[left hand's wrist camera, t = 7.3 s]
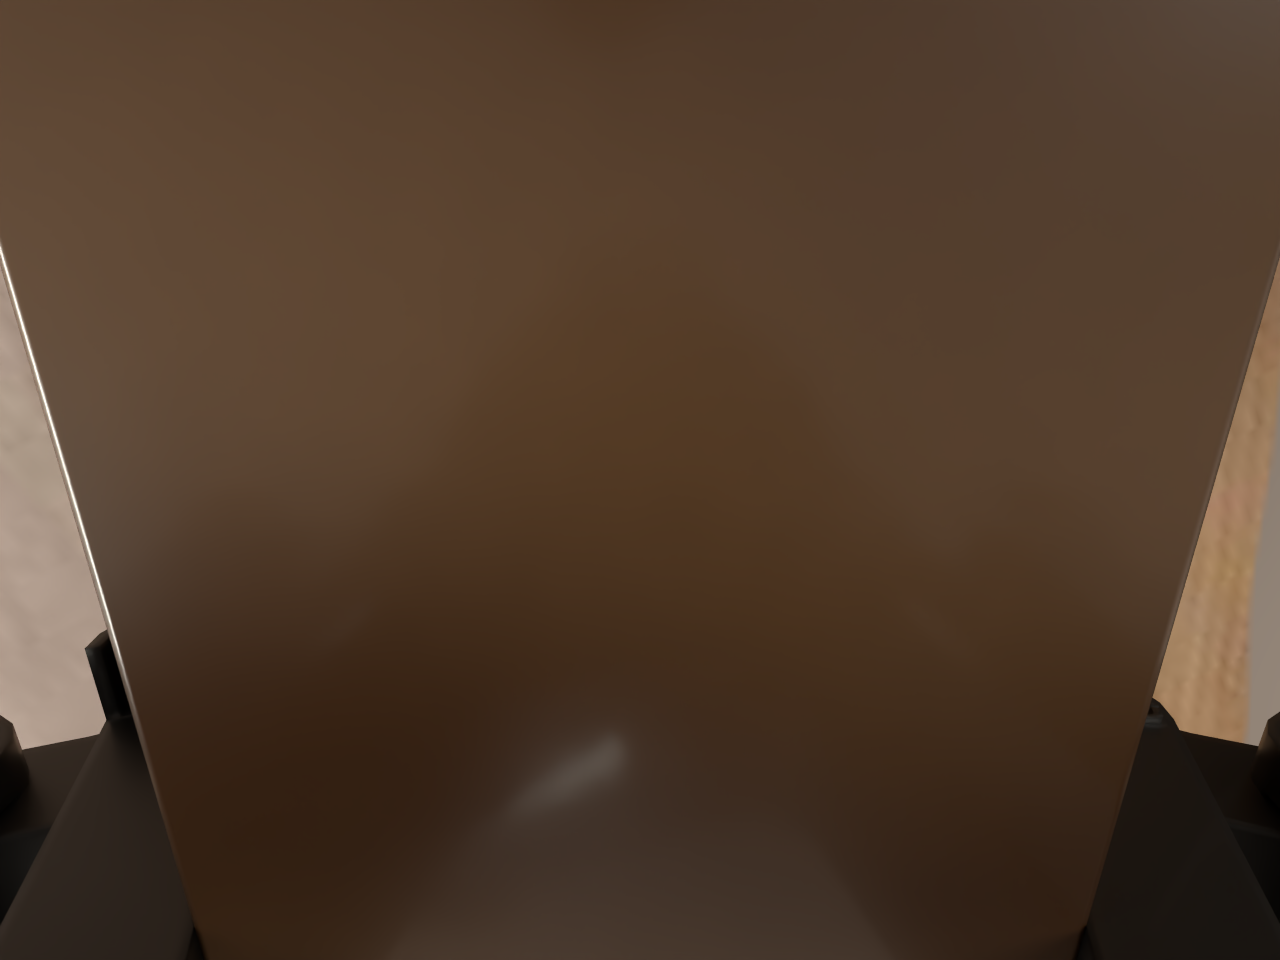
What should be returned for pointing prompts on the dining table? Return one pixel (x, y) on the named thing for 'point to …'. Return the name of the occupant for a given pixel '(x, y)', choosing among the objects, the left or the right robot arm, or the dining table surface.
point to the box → (639, 447)
